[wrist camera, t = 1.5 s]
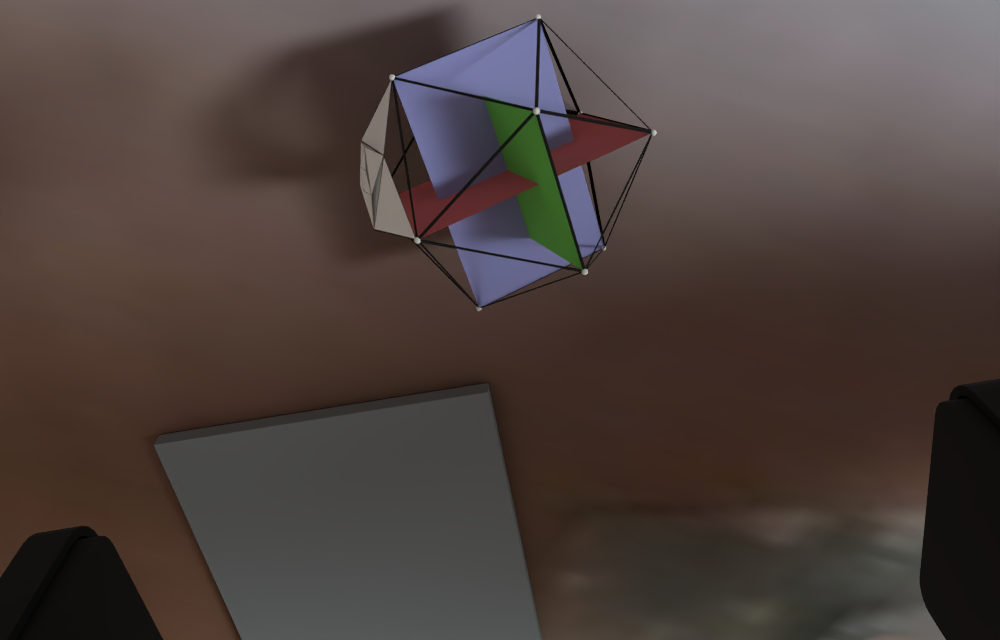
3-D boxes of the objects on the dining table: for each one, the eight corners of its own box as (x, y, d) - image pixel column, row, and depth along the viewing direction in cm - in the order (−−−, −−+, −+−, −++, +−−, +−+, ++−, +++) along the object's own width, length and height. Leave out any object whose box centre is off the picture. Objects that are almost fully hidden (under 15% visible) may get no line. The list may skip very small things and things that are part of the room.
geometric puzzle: (664, -32, 21) (485, 82, 16) (716, 212, 24) (579, 372, 19) (454, 18, 26) (263, 119, 20) (520, 218, 29) (368, 348, 24)
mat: (488, 382, 29) (488, 392, 29) (541, 638, 35) (543, 650, 35) (159, 435, 30) (153, 445, 29) (267, 677, 36) (264, 689, 35)
